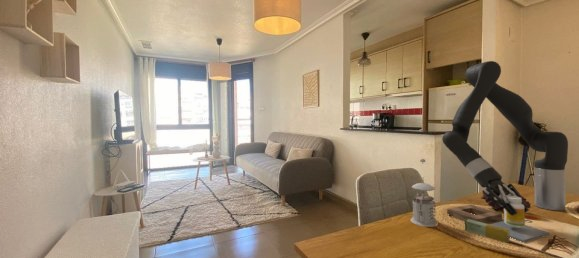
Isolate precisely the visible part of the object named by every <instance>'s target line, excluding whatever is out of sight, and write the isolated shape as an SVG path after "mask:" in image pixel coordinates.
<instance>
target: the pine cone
mask: <svg viewBox="0 0 579 258" xmlns="http://www.w3.org/2000/svg"><path fill="white" fill-rule="evenodd" d="M490 195H491V194H490ZM508 195H509V194H508ZM515 195H516V194H515ZM516 196H517V195H516ZM493 198H494V197H493ZM480 199H482V200H484V201H485V202H486V203H487V205H488V207H489V206H490V207H491V208H492V209H495V210H496V211H501V210H503V211H504V207H503V206H500V205H495V204H494V203H493V202H492V201H491V200H490V199H489V198H488V197H487V196H486V195H485V194H484V193H483V192H482V195H481V196H480ZM494 199H495V198H494ZM496 201H497V200H496ZM522 203H523V204H524V205H525V206H526V207H527V208H528V209H530V208H531V203H530V201H529V200H528V201H527V199H526V198H525V197H524V196H522Z"/></svg>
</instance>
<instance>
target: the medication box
mask: <svg viewBox="0 0 579 258" xmlns="http://www.w3.org/2000/svg"><path fill="white" fill-rule="evenodd" d="M490 224H491V223H488V224H486V223H482V222H478V221H474V220H471V219H466V220H465V221H464V228H465V229H464V231H465V232H468V233H472V234H476V235H479V236H483V237H486V238H489V239H493V240H497V241H499V242H503V243H506V244H508V243H509V242H511V241H510V240H511V238H510V230H508V229H505V228H501V227H497V226H493V225H490Z"/></svg>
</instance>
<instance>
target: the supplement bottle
mask: <svg viewBox="0 0 579 258" xmlns="http://www.w3.org/2000/svg"><path fill="white" fill-rule="evenodd" d="M506 199H507V201H508V203H510V204H511V206H512V207H513V208H514V209H515V210H516V211H517V214H515V215H510V214H509V213H508V212H507V211H506V210H505V208H504V209H503V221H504V223H505V224H507V225H510V226H513V227H524V226H525V225H526V224H525V223H526V221H525V220H526V219H525V214H526V212H525V208H524V205H523V204H521V202H522V198H520V197H517V196H506Z"/></svg>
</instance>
